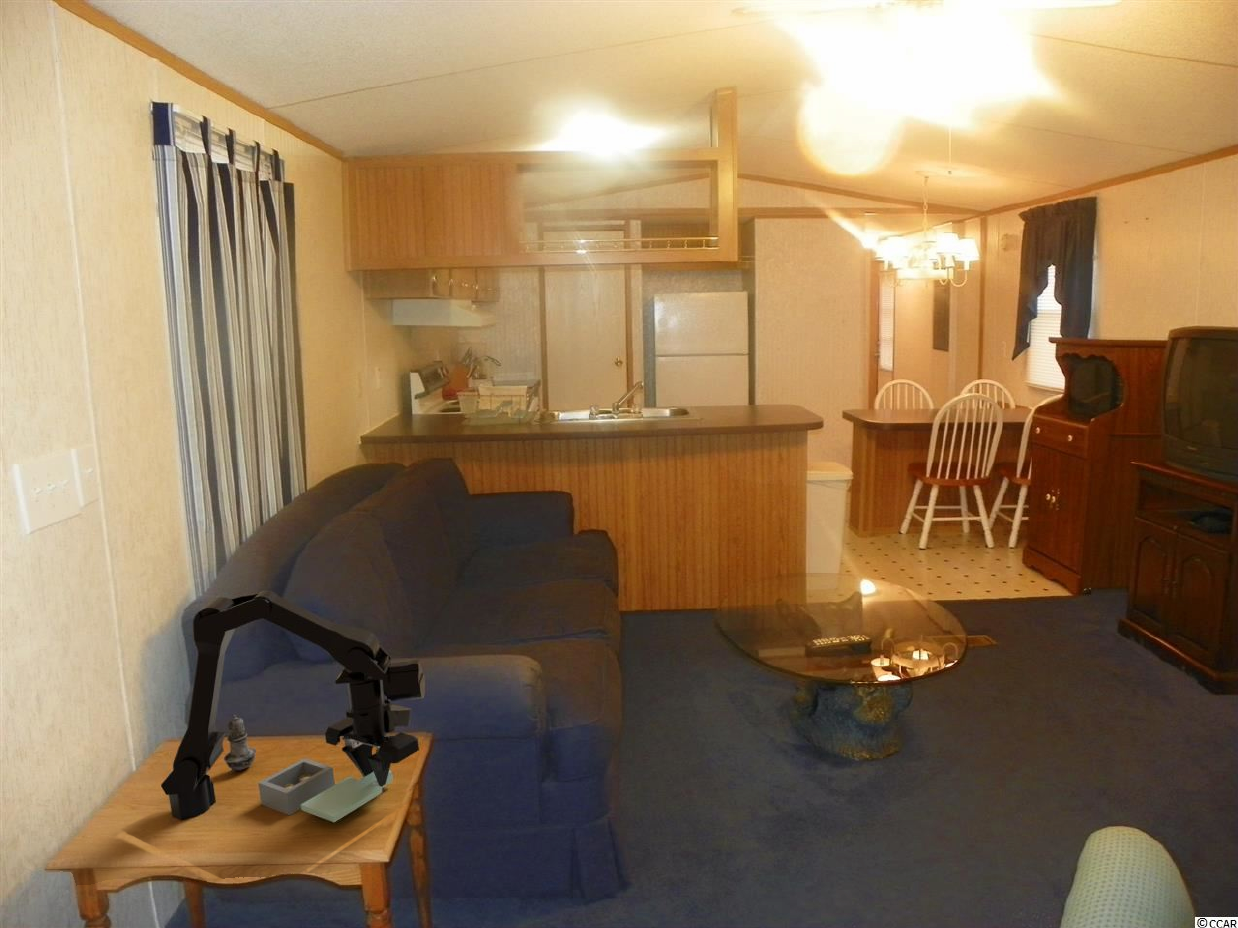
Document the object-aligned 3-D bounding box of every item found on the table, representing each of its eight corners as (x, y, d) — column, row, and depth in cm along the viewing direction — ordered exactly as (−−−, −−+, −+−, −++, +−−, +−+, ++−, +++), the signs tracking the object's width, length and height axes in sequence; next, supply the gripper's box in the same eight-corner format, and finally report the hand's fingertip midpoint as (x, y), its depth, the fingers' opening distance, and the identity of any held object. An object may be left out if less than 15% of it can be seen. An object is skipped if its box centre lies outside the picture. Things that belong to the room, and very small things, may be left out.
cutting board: (334, 827, 153) (333, 816, 152) (302, 815, 157) (300, 804, 157) (403, 784, 165) (402, 774, 165) (371, 773, 170) (370, 764, 170)
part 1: (288, 806, 163) (286, 791, 162) (279, 803, 164) (277, 788, 164) (299, 799, 165) (297, 785, 164) (290, 796, 166) (288, 782, 165)
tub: (290, 819, 160) (286, 792, 159) (262, 808, 164) (258, 782, 163) (335, 792, 168) (332, 767, 167) (307, 782, 172) (304, 758, 172)
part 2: (306, 795, 166) (304, 781, 165) (298, 792, 167) (296, 778, 167) (317, 789, 168) (315, 775, 167) (309, 786, 169) (307, 772, 169)
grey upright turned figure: (264, 767, 180) (256, 710, 178) (238, 781, 175) (230, 723, 173) (246, 761, 183) (237, 705, 181) (220, 775, 178) (211, 717, 176)
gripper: (436, 694, 165) (445, 774, 167) (366, 677, 175) (375, 753, 177) (390, 719, 155) (399, 803, 158) (318, 699, 166) (329, 779, 168)
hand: (376, 783), depth 166 cm, fingers closed on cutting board, 3 cm apart
